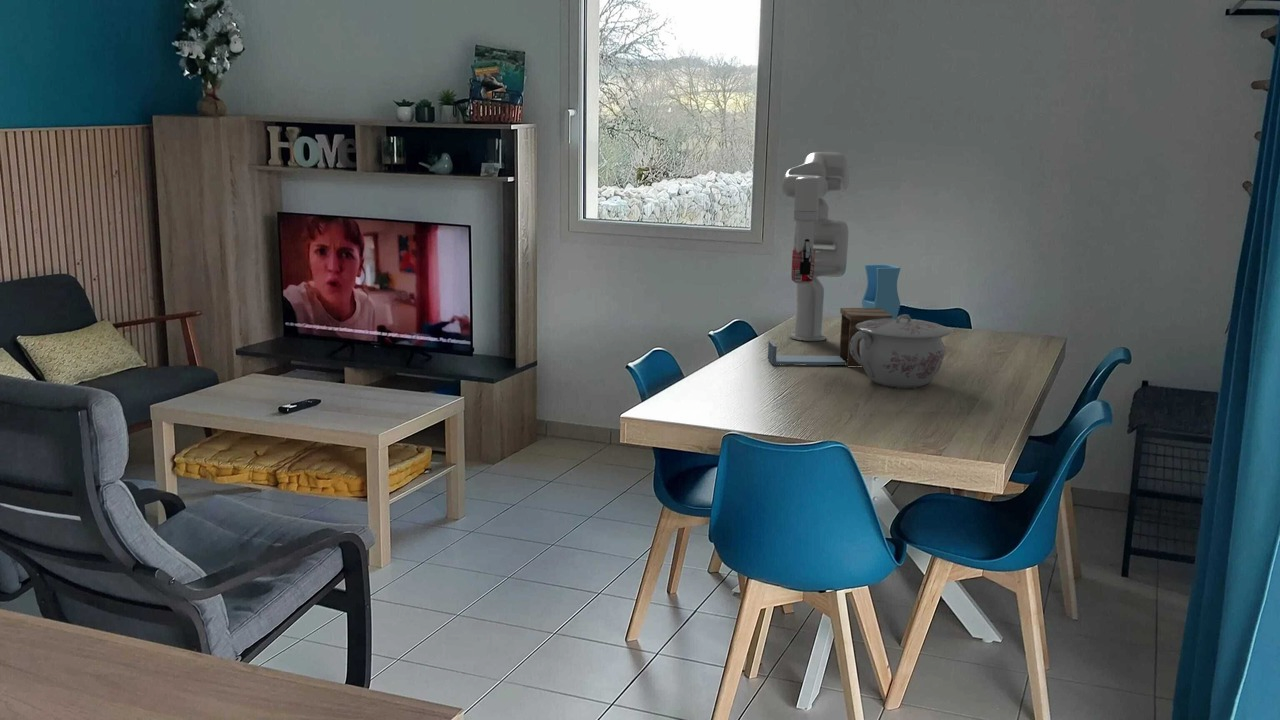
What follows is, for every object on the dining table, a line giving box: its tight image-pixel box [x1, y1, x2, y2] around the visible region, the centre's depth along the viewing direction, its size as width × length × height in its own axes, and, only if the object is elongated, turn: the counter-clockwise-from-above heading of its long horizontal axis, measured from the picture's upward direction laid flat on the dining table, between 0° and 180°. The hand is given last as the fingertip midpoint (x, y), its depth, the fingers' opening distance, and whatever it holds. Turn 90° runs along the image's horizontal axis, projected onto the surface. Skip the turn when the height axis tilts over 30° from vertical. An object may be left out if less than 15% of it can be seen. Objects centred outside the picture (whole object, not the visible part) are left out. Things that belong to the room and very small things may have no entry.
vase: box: [861, 263, 901, 318], centre depth 408 cm, size 10×10×25 cm
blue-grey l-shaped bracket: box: [767, 340, 846, 366], centre depth 362 cm, size 9×23×6 cm, turn 93°
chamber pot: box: [849, 313, 952, 389], centre depth 335 cm, size 28×28×21 cm
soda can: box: [791, 245, 815, 284], centre depth 363 cm, size 7×7×12 cm
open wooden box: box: [838, 307, 892, 367], centre depth 362 cm, size 14×13×17 cm
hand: (802, 272), depth 363 cm, fingers closed on soda can, 6 cm apart
